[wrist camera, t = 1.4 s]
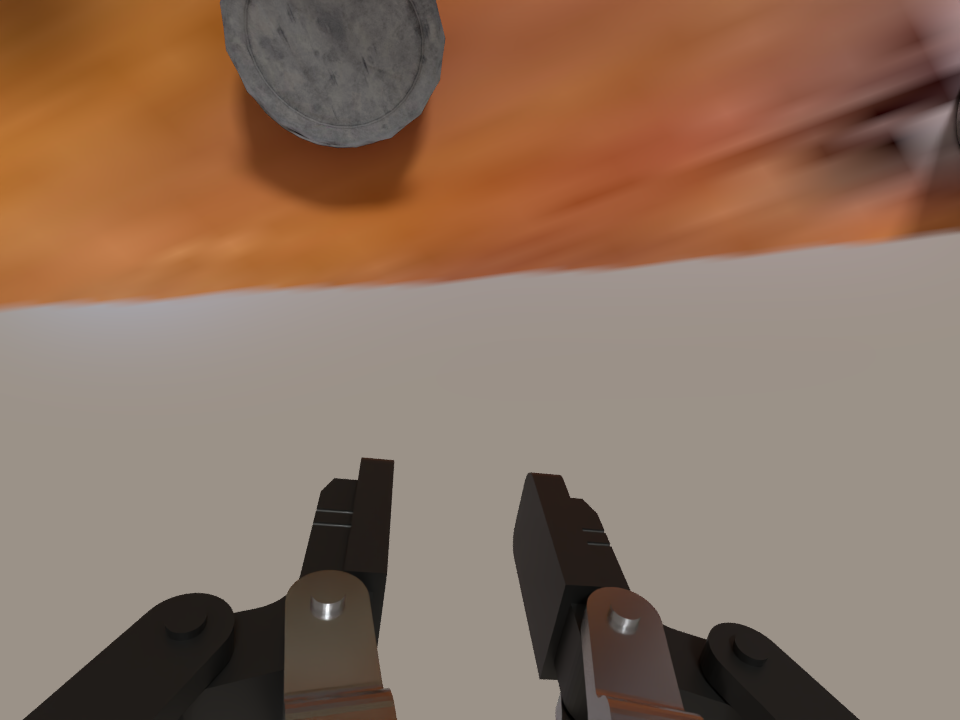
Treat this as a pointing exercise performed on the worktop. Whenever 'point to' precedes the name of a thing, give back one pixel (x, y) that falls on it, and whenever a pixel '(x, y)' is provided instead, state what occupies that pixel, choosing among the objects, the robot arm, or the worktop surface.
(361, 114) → the canned food
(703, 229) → the worktop surface
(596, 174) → the worktop surface
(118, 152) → the worktop surface
